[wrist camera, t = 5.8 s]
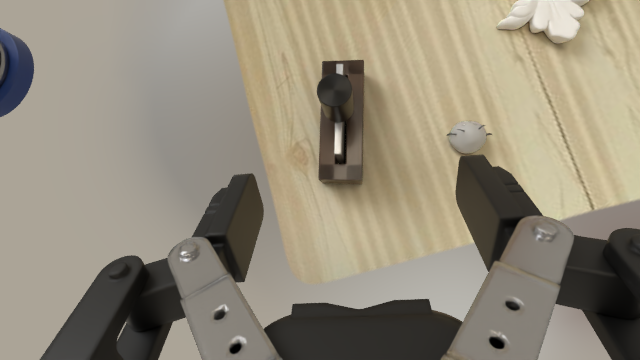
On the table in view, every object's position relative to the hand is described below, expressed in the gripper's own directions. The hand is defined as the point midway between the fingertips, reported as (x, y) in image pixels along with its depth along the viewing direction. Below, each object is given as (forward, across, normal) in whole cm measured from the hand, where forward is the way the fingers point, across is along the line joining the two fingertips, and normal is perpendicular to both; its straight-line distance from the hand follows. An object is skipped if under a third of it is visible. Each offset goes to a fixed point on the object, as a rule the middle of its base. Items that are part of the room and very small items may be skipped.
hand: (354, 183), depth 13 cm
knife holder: (+20, +1, +7) cm, 22 cm away
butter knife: (+20, +1, +7) cm, 22 cm away
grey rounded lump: (+19, -11, +9) cm, 24 cm away
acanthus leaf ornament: (+27, -20, 0) cm, 34 cm away
